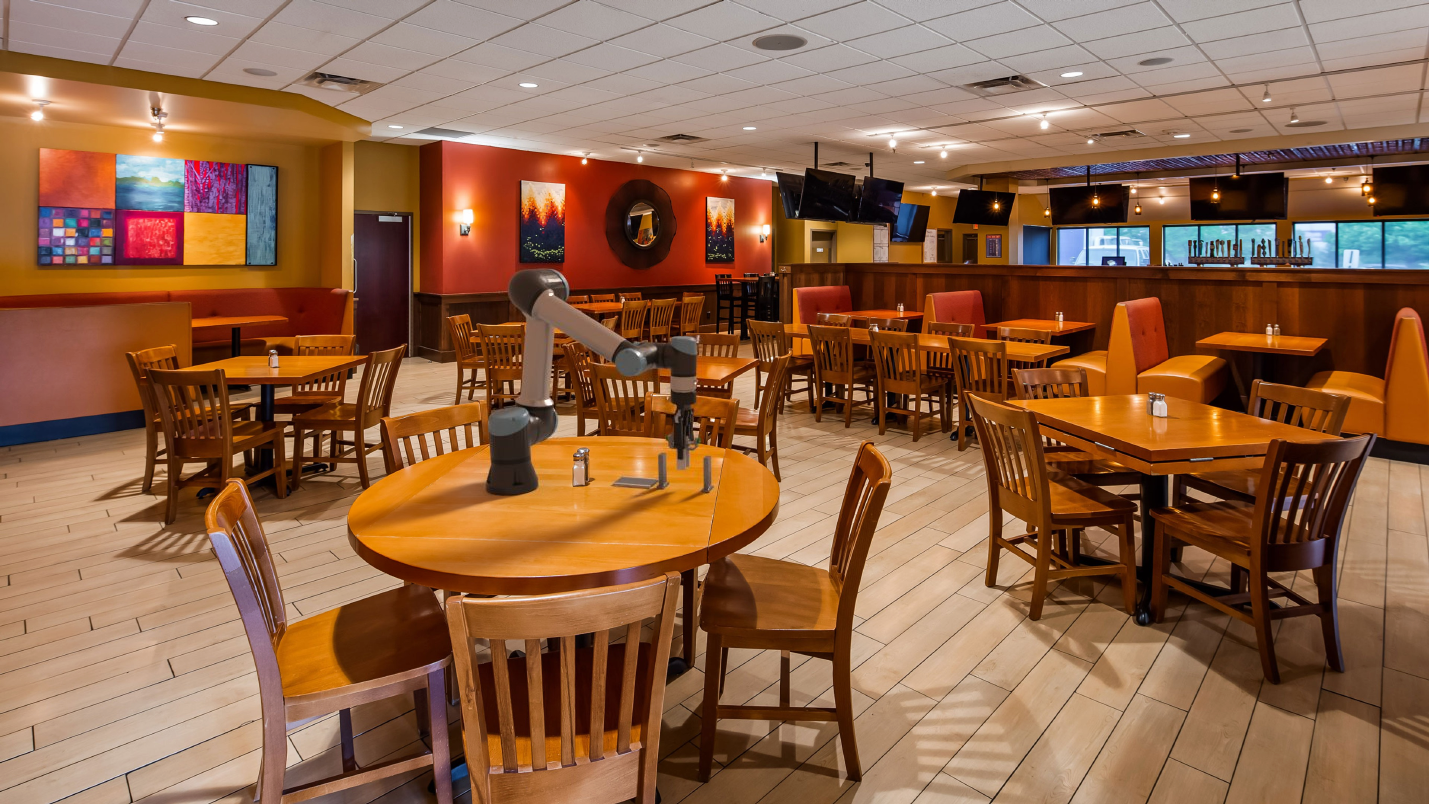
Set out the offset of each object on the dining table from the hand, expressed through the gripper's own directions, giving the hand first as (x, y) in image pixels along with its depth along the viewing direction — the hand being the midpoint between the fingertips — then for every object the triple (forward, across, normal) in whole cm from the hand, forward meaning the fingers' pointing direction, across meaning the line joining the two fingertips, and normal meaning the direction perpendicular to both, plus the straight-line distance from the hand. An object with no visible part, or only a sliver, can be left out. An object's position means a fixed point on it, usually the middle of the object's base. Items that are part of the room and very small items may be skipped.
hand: (683, 467), depth 230 cm
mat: (+6, +1, +15) cm, 17 cm away
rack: (+6, 0, -1) cm, 6 cm away
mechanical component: (+1, 0, 0) cm, 1 cm away
